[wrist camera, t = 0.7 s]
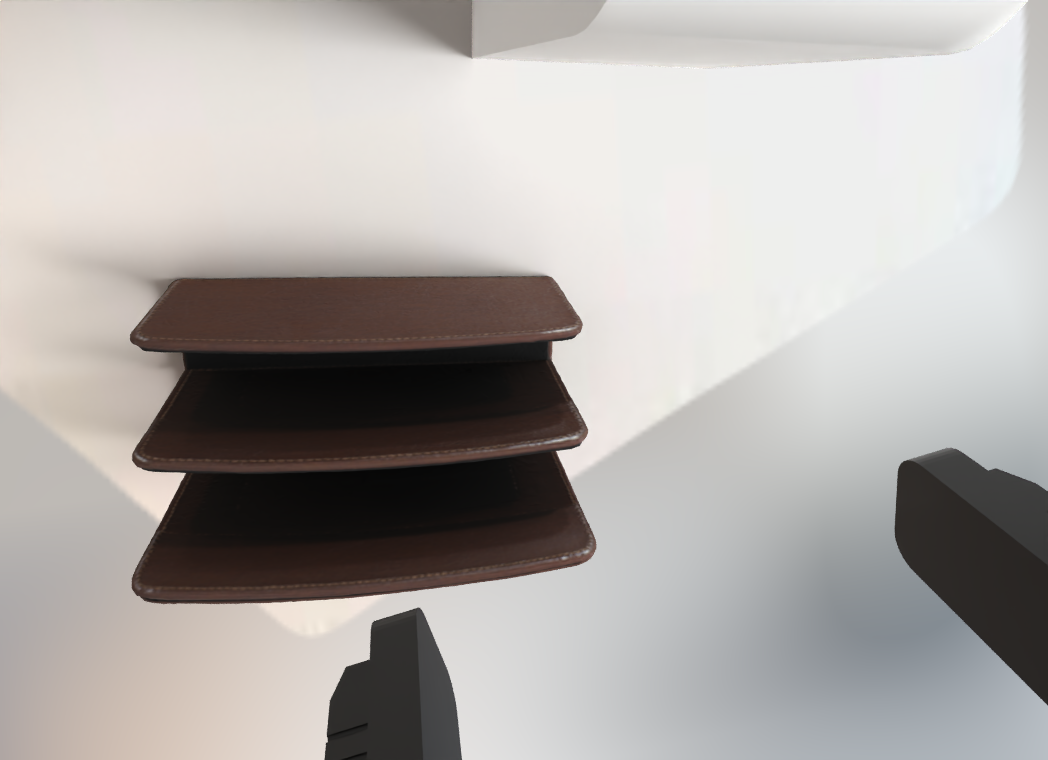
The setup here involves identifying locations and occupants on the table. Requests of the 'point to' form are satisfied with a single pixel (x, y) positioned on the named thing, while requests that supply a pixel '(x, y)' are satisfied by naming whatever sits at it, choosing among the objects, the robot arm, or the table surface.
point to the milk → (730, 30)
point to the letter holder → (360, 437)
